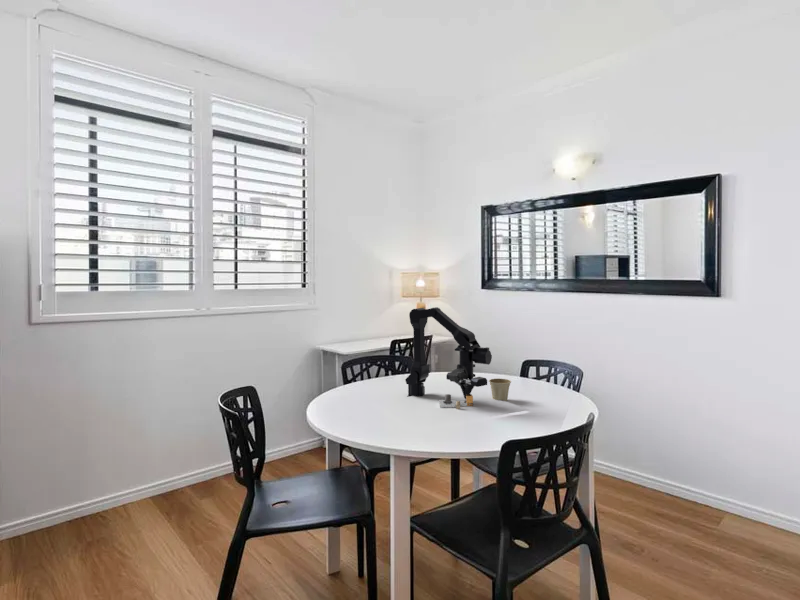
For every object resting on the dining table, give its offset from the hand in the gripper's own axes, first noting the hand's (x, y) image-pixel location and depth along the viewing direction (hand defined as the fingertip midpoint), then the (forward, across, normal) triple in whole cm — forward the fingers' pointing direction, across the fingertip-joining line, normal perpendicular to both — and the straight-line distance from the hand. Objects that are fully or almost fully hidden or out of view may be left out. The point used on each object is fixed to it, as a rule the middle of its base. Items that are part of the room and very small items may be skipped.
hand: (466, 399), depth 201 cm
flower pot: (+3, +4, +16) cm, 17 cm away
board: (+2, -2, -8) cm, 9 cm away
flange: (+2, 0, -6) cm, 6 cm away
